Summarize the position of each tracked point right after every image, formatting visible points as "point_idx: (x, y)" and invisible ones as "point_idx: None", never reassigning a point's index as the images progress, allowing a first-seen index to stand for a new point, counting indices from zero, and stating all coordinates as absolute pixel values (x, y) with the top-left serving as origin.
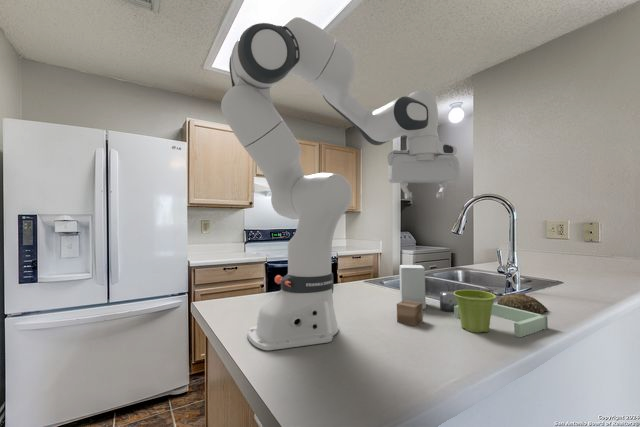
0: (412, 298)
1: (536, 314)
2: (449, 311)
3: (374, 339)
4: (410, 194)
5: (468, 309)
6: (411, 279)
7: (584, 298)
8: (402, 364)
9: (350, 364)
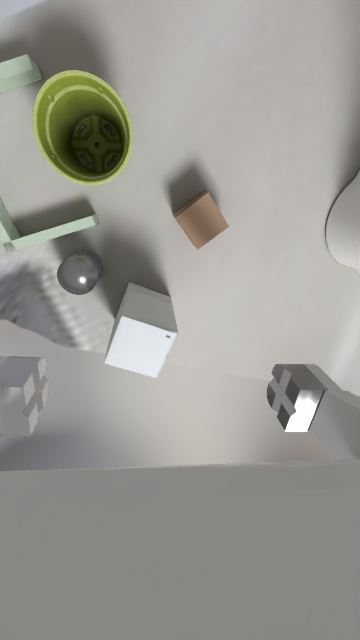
0: (152, 296)
1: None
2: (91, 253)
3: (300, 147)
4: (302, 377)
5: (118, 117)
6: (154, 313)
7: None
8: (316, 21)
9: None
